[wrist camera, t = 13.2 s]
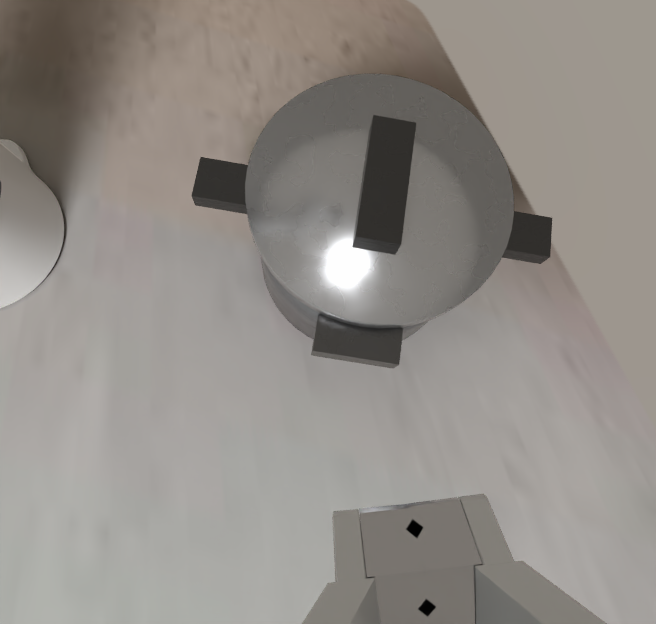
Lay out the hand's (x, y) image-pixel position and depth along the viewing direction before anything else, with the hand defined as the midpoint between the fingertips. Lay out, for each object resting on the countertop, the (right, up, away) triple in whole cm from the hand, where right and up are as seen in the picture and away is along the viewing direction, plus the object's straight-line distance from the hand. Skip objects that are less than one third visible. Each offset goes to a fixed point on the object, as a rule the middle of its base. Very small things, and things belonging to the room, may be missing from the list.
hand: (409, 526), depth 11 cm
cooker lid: (+2, +12, +28) cm, 31 cm away
